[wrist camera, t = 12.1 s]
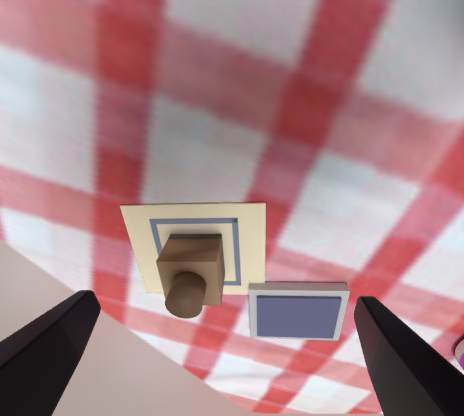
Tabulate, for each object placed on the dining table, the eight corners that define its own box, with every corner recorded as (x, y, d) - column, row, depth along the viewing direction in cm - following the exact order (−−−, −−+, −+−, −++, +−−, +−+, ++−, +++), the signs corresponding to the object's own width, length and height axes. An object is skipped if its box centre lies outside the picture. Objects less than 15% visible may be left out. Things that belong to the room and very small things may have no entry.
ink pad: (346, 282, 22) (351, 293, 21) (335, 331, 25) (339, 343, 24) (249, 281, 23) (248, 292, 22) (250, 329, 26) (250, 340, 25)
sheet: (265, 202, 19) (265, 203, 19) (264, 293, 24) (264, 295, 23) (120, 205, 20) (119, 206, 20) (147, 291, 25) (146, 293, 24)
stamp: (221, 233, 20) (212, 282, 15) (225, 273, 22) (217, 327, 18) (170, 234, 21) (145, 281, 16) (178, 273, 23) (158, 326, 18)
